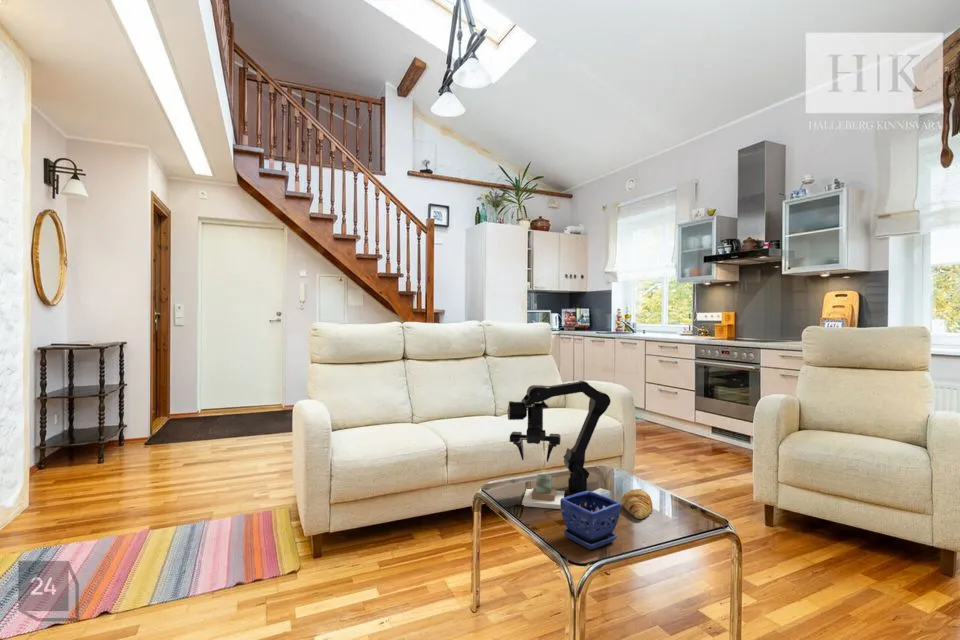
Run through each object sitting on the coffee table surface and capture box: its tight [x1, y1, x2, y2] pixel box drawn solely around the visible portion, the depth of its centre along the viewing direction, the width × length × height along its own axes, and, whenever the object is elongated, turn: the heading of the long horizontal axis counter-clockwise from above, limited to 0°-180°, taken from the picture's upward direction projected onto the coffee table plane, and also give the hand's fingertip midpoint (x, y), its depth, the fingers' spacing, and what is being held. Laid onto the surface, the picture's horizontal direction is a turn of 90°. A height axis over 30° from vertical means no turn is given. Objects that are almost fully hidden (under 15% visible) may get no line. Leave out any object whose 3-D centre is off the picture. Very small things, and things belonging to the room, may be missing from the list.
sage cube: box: [536, 473, 553, 494], centre depth 177 cm, size 5×5×5 cm
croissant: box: [620, 488, 654, 520], centre depth 169 cm, size 21×10×8 cm, turn 167°
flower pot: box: [560, 490, 622, 550], centre depth 145 cm, size 13×13×12 cm
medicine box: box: [591, 487, 612, 512], centre depth 161 cm, size 8×4×9 cm, turn 134°
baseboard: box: [521, 485, 566, 510], centre depth 177 cm, size 14×14×4 cm
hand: (535, 460), depth 184 cm, fingers open, 9 cm apart
